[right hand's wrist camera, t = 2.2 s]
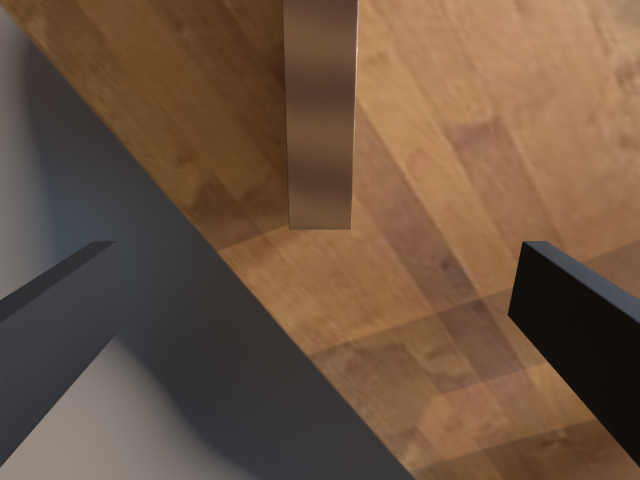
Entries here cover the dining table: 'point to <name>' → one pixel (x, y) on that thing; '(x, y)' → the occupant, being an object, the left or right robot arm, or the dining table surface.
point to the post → (320, 110)
